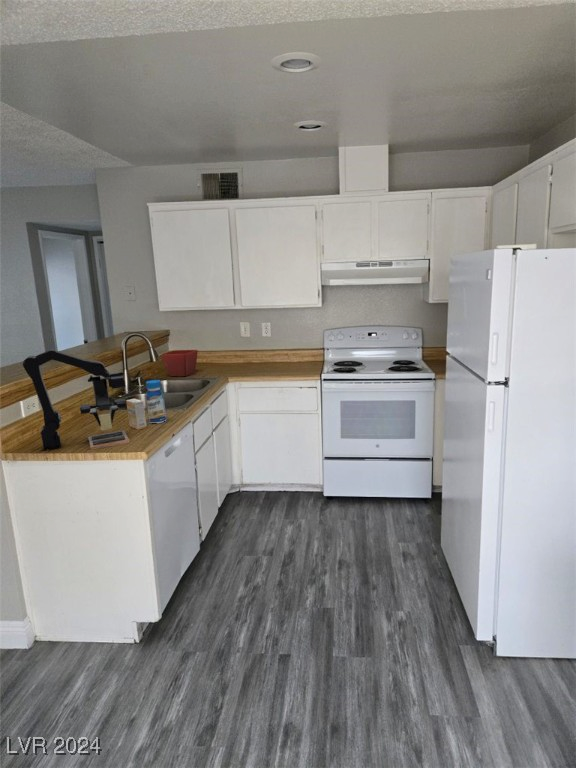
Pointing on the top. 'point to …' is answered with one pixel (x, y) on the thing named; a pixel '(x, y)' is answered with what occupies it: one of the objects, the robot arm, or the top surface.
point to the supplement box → (136, 413)
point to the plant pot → (180, 362)
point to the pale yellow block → (105, 421)
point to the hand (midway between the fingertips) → (105, 425)
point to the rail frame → (108, 439)
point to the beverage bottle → (155, 402)
